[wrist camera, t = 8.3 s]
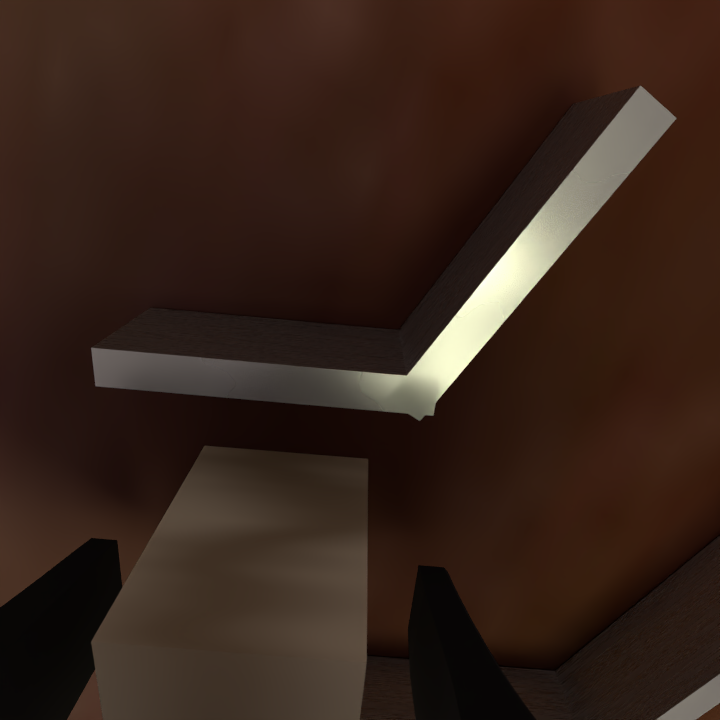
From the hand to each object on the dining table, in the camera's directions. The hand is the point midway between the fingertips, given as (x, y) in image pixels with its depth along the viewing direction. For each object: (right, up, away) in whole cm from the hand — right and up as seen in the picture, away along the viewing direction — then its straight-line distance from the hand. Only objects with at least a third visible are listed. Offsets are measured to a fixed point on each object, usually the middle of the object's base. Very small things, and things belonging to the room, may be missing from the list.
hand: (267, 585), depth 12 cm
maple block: (0, +1, +2) cm, 2 cm away
